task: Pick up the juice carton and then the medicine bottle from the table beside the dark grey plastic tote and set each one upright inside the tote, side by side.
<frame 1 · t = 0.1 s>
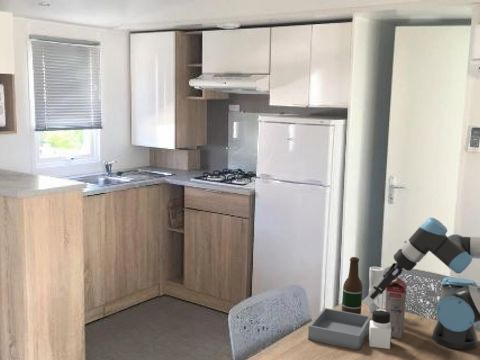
hand: (369, 297, 196), 15 cm above the table, tool tilted 35°, fingers open, 13 cm apart
binoculars: (380, 316, 219), on the table
medicine bottle: (379, 344, 193), on the table
juice carton: (393, 333, 203), on the table
tote: (340, 334, 201), on the table
beer bottle: (351, 316, 218), on the table
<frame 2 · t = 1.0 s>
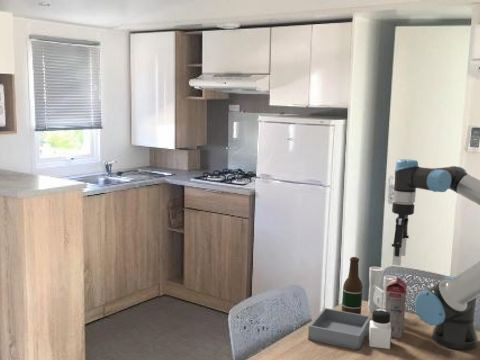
hand: (398, 260, 198), 28 cm above the table, tool pointing down, fingers open, 13 cm apart
nothing on the table moved.
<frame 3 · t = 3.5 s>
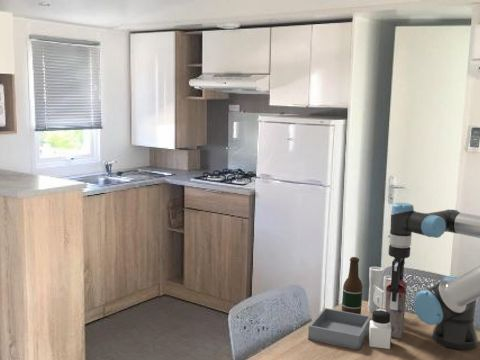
hand: (395, 305, 201), 11 cm above the table, tool pointing down, fingers closed on juice carton, 7 cm apart
juice carton: (393, 333, 203), on the table, touching gripper
everything else where it was.
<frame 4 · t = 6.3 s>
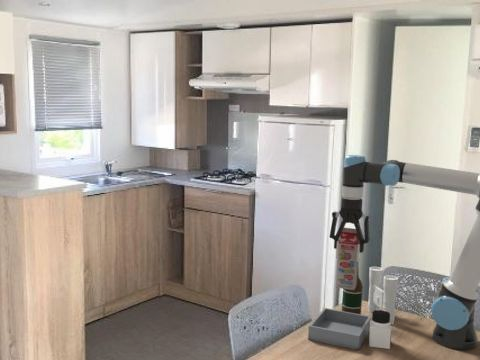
hand: (348, 259, 201), 27 cm above the table, tool pointing down, fingers closed on juice carton, 7 cm apart
juice carton: (346, 286, 203), point 17 cm above the table, touching gripper
everything else where it was.
when the fingers open (13 cm above the table, at t = 9.4 s): juice carton drops 1 cm, resting on tote.
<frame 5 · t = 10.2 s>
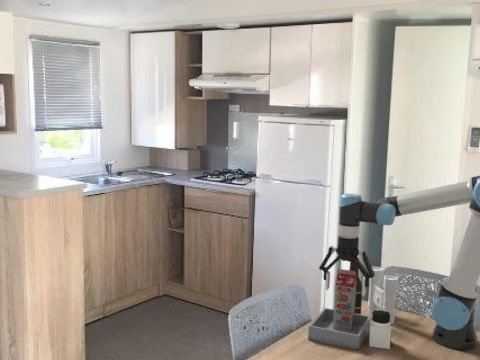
hand: (345, 291, 203), 15 cm above the table, tool pointing down, fingers open, 13 cm apart
juice carton: (343, 327, 205), point 1 cm above the table, touching tote
everything else where it was.
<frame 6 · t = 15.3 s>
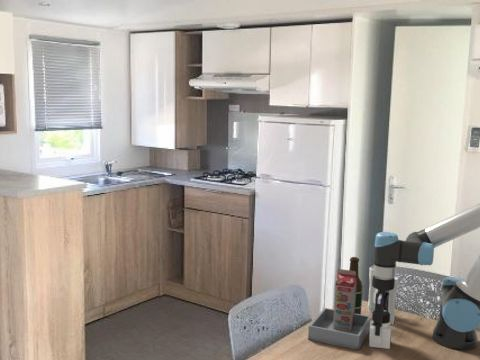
hand: (379, 338, 193), 2 cm above the table, tool pointing down, fingers closed on medicine bottle, 8 cm apart
medicine bottle: (379, 344, 193), on the table, touching gripper
everything else where it was.
when the fingers open (4 cm above the table, at t = 23.7 s): medicine bottle drops 1 cm, resting on tote.
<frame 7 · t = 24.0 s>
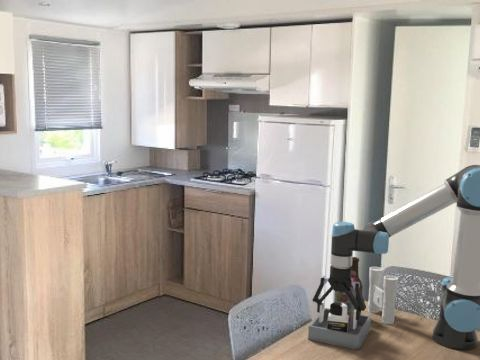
hand: (337, 324, 196), 5 cm above the table, tool pointing down, fingers open, 11 cm apart
medicine bottle: (337, 336, 196), point 1 cm above the table, touching tote
everything else where it was.
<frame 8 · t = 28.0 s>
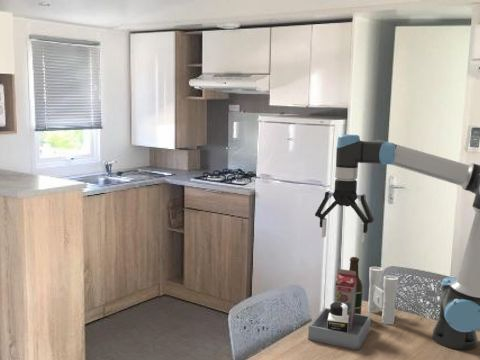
hand: (342, 239, 192), 37 cm above the table, tool pointing down, fingers open, 13 cm apart
nothing on the table moved.
at the end: juice carton inside the target area (4.9 cm from its centre), point 0.8 cm above the table; medicine bottle inside the target area (4.5 cm from its centre), point 0.8 cm above the table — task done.
